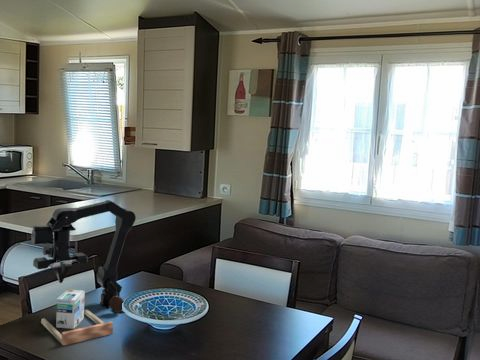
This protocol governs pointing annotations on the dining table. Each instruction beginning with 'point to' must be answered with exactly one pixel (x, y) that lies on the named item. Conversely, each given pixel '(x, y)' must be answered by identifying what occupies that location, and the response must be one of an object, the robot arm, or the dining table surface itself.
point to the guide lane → (81, 330)
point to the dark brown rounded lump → (116, 304)
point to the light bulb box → (70, 309)
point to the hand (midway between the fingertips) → (60, 282)
